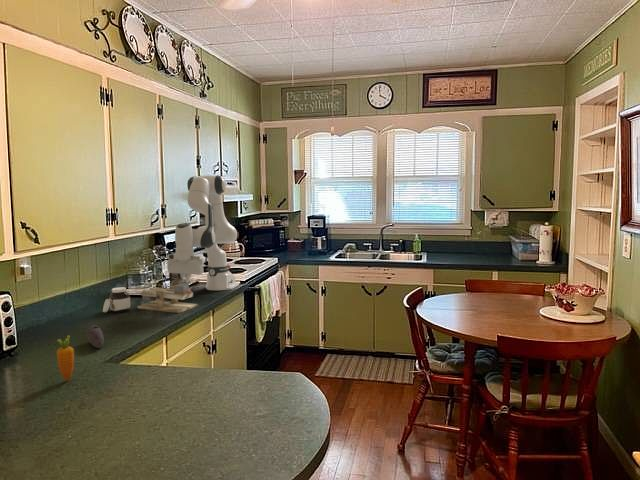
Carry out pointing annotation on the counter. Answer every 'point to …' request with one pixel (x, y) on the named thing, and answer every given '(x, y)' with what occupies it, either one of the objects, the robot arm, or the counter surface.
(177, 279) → the coffee box
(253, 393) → the counter surface
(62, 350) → the carrot
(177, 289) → the block
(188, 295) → the beige long grooved bar
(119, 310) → the spread jar
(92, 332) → the perforated stone tool
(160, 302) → the pivot stand
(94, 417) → the counter surface
